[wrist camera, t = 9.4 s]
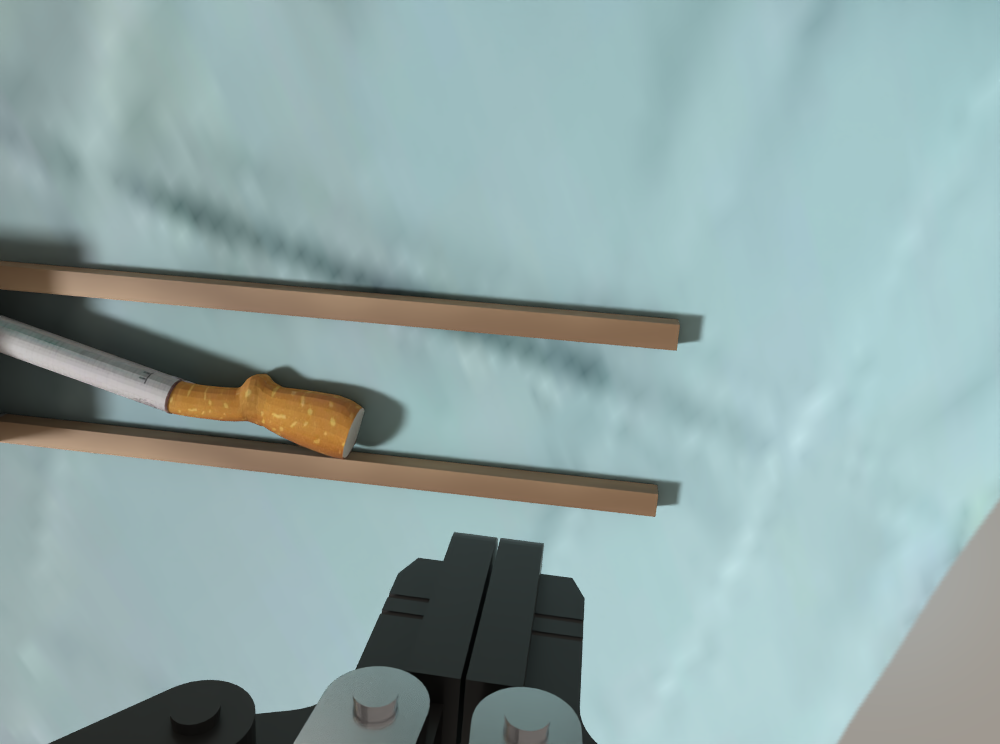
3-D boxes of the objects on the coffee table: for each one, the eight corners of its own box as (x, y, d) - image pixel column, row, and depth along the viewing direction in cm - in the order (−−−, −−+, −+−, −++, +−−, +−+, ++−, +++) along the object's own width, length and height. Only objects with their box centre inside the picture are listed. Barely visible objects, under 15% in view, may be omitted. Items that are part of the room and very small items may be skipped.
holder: (-146, 248, 35) (-270, 268, 30) (678, 319, 31) (690, 356, 26) (-114, 420, 38) (-224, 465, 33) (654, 506, 34) (661, 572, 29)
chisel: (358, 402, 32) (332, 473, 32) (370, 406, 35) (346, 471, 35) (-80, 247, 33) (-109, 316, 33) (-32, 264, 36) (-59, 327, 36)
